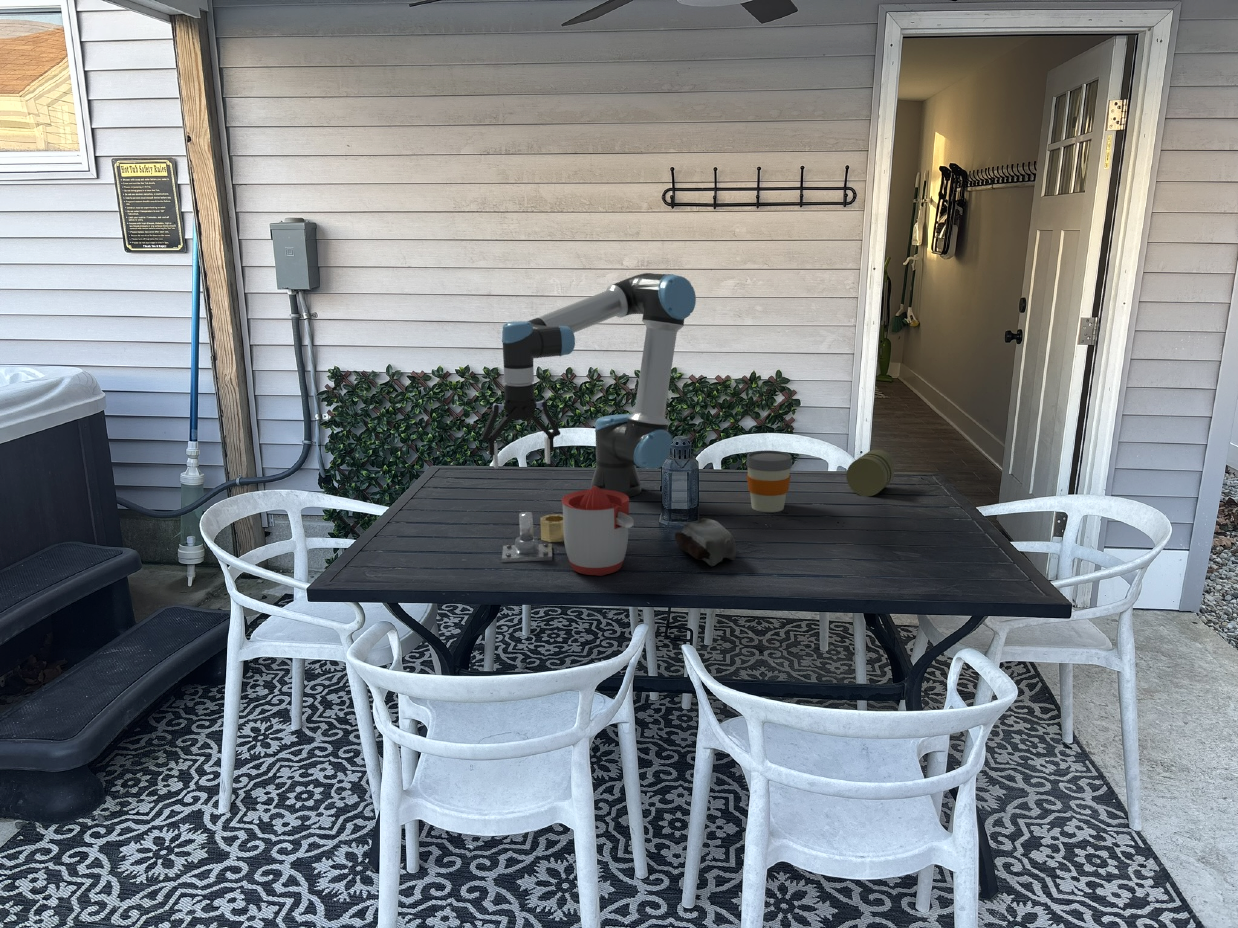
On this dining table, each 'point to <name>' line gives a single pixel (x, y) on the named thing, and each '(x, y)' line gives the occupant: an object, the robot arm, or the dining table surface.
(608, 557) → the citrus juicer
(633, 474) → the robot arm
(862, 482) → the piston
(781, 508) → the reusable coffee cup
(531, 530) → the shaft stand
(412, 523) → the dining table surface
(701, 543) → the dark grey lump
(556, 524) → the hub
